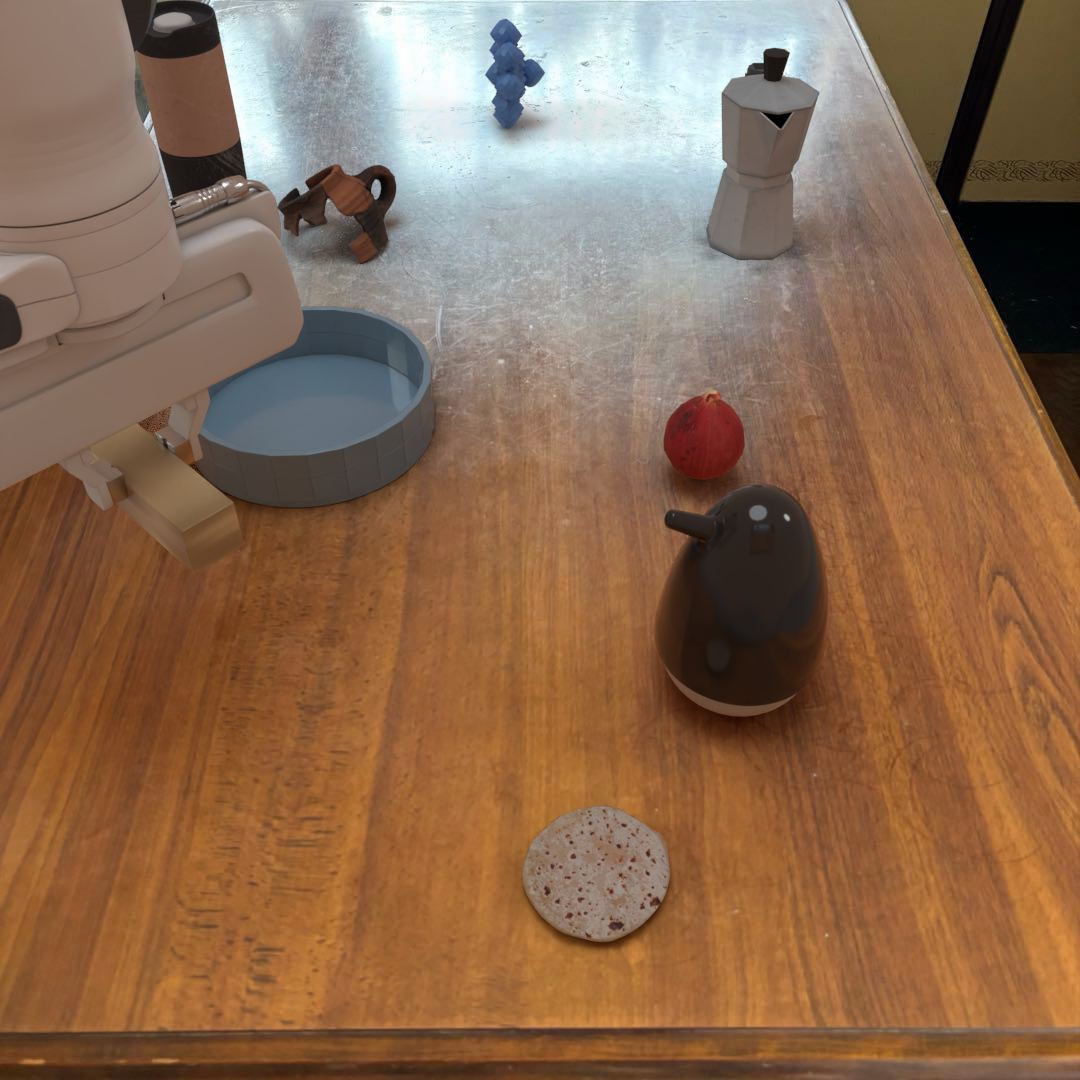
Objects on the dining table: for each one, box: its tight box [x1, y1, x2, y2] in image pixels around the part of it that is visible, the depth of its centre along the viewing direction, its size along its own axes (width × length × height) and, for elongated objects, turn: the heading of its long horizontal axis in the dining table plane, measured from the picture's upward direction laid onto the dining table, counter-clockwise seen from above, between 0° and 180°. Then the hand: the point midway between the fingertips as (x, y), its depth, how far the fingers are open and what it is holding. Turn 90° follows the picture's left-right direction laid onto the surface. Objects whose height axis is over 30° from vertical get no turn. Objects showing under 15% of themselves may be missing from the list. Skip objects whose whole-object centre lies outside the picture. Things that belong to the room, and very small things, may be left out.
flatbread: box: [521, 805, 671, 943], centre depth 59 cm, size 8×8×1 cm
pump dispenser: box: [653, 483, 830, 717], centre depth 64 cm, size 10×10×15 cm
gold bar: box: [88, 423, 245, 575], centre depth 58 cm, size 12×3×3 cm, turn 46°
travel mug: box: [135, 0, 248, 198], centre depth 104 cm, size 8×8×20 cm
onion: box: [662, 388, 746, 481], centre depth 80 cm, size 6×6×8 cm
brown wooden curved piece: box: [277, 163, 397, 264], centre depth 107 cm, size 12×10×8 cm
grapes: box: [484, 18, 546, 128], centre depth 123 cm, size 12×7×12 cm, turn 5°
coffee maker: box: [705, 47, 820, 260], centre depth 103 cm, size 15×9×18 cm, turn 0°
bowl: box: [193, 305, 436, 509], centre depth 86 cm, size 19×19×5 cm
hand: (147, 479), depth 58 cm, fingers closed on gold bar, 3 cm apart
